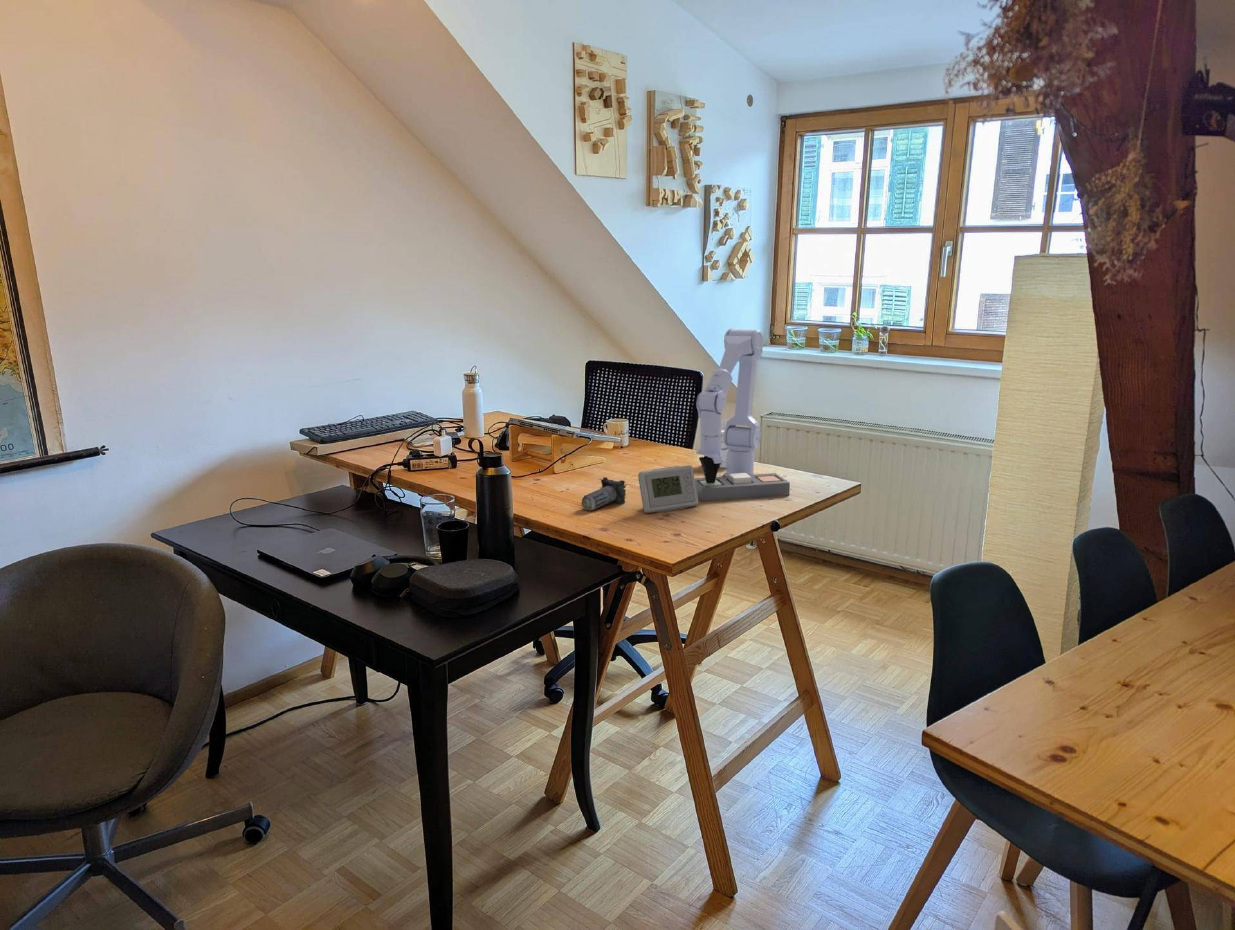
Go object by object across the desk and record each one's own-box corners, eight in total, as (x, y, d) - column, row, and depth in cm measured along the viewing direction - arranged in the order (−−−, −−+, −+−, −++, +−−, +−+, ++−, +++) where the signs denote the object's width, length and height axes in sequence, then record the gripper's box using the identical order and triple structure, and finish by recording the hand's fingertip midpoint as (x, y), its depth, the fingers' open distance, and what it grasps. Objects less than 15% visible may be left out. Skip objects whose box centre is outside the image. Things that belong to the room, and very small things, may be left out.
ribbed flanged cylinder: (606, 503, 219) (578, 516, 210) (601, 476, 218) (572, 488, 209) (631, 503, 213) (603, 516, 205) (626, 475, 212) (597, 487, 203)
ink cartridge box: (705, 467, 250) (705, 422, 246) (705, 464, 255) (705, 419, 251) (733, 467, 249) (733, 422, 246) (732, 464, 254) (733, 419, 250)
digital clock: (642, 515, 204) (642, 475, 201) (634, 505, 212) (634, 467, 210) (702, 510, 207) (703, 470, 204) (692, 500, 215) (692, 462, 213)
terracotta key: (757, 483, 225) (757, 476, 224) (773, 481, 226) (774, 475, 225) (763, 487, 220) (763, 481, 219) (780, 486, 221) (780, 480, 220)
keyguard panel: (691, 490, 225) (691, 478, 224) (774, 484, 229) (775, 473, 228) (701, 501, 214) (701, 488, 214) (789, 494, 219) (789, 482, 218)
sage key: (699, 487, 222) (699, 480, 222) (716, 485, 223) (716, 479, 222) (704, 491, 217) (704, 485, 217) (721, 490, 218) (721, 484, 218)
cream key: (728, 480, 223) (728, 473, 223) (745, 478, 224) (745, 472, 223) (734, 484, 218) (734, 478, 218) (751, 483, 219) (751, 477, 219)
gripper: (689, 430, 223) (689, 477, 226) (703, 441, 209) (703, 490, 212) (713, 429, 224) (713, 475, 227) (729, 439, 210) (728, 488, 213)
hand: (710, 482), depth 220 cm, fingers closed, pressing on sage key
